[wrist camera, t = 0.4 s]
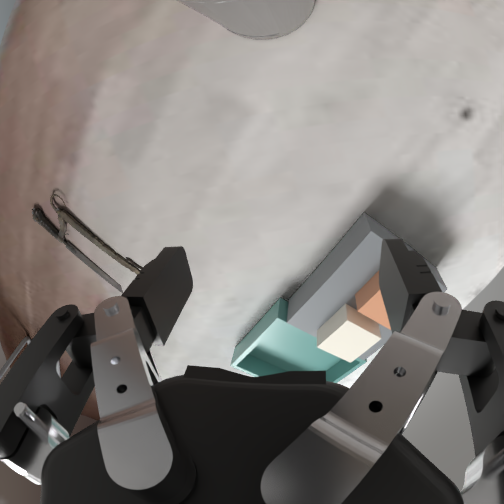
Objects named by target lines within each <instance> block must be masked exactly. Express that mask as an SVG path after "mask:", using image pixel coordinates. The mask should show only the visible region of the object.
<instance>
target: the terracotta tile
mask: <svg viewBox="0 0 504 504" xmlns="http://www.w3.org/2000/svg"><path fill="white" fill-rule="evenodd" d="M355 298H356V305H357V311H358V312H360V313H362V314H363V315H365V316H367V317H369V318H370V319H372V320H374V321H376V322H377V323H379V324H381V325H383V326H384V327H386V328H388V329H390V330H391V327H390V323H389V320H388V316H387V312H386V309H385V305H384V302H383V298H382V295H381V291H380V287H379V271H378V272H377V273H376V274H375V275H374V276H373V277H372V278H371V279H370V280H369V281H368V282H367V283H366V284H365V285H364V286H363V287H362V288H361V289H360V290H359V291H358V292H357V293H356V294H355Z"/></svg>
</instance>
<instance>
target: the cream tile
mask: <svg viewBox="0 0 504 504" xmlns="http://www.w3.org/2000/svg"><path fill="white" fill-rule="evenodd" d="M380 339H381V333H380V328H379V323H377V322H376V321H374V320H372V319H370V318H369V317H367V316H365V315H363V314H362V313H360V312H358V311H357V310H356V309H354V308H352V307H351V306H349V305H347V304H345V305H344V306H343V307H342V308H340V309H339V310H338V311H337V312H336V313H335V314H334V315H333V316H332V317H331V318H330V319H329V320H328V321H327V322H326V323H325V324H323V325H322V326H321V327H320V328H319V329H318V330H317V347H318V348H320V349H322V350H324V351H326V352H328V353H330V354H333V355H335V356H337V357H339V358H341V359H343V360H346V361H348V362H350V363H351V362H352V361H354V360H355V359H356V358H358V357H359V356H360V355H362V354H363V353H364V352H365V351H367V350H368V349H369V348H371V347H372V346H373V345H374V344H376V343H377V342H378V341H379V340H380Z"/></svg>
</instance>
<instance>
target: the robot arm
mask: <svg viewBox="0 0 504 504" xmlns="http://www.w3.org/2000/svg"><path fill="white" fill-rule="evenodd" d="M177 1H179V2H181V3H183V4H184V5H186V6H188V7H190V8H192V9H194V10H196V11H197V12H199V13H201V14H203V15H205V16H206V17H208V18H210V19H211V20H213V21H215V22H217V23H218V24H220V25H222V26H223V27H225V28H227V30H229V31H231V32H233V33H235V34H237V35H240V36H243V37H246V38H251V39H273V38H278V37H281V36H284V35H287V34H289V33H291V32H293V31H294V30H296V29H298V28H299V27H300V26H301V25H302V24H304V23H305V21H306V20H307V19H308V17H309V16H310V14H311V12H312V10H313V7H314V2H315V0H177ZM379 287H380V291H381V295H382V298H383V302H384V305H385V309H386V312H387V316H388V320H389V323H390V327H391V331H392V335H391V336H390V338H389V339H388V340H387V342H386V343H385V344H384V346H383V347H382V349H381V350H380V351H379V353H378V354H377V355H376V356H375V358H374V359H373V360H372V362H371V363H370V364H369V365H368V367H367V368H366V369H365V371H364V372H363V373H362V374H361V375H360V377H359V378H358V379H357V380H356V382H355V383H354V384H353V385H352V386H351V388H350V389H349V388H347V387H345V386H343V385H340V384H337V383H334V382H329V381H326V371H287V372H282V373H276V374H271V375H265V376H259V377H249V376H245V375H241V374H238V373H234V372H231V371H227V370H224V369H221V368H212V367H200V366H189V365H188V366H187V369H186V371H185V374H184V375H181V376H176V377H172V378H168V379H165V380H163V381H162V379H161V376H160V374H159V371H158V368H157V366H156V363H155V360H154V357H153V355H152V352H151V350H150V348H151V346H152V345H158V346H164V345H165V343H166V341H167V339H168V337H169V335H170V333H171V331H172V329H173V327H174V325H175V323H176V321H177V319H178V317H179V315H180V313H181V311H182V309H183V307H184V305H185V304H186V302H187V300H188V298H189V296H190V294H191V292H192V288H193V280H192V275H191V272H190V268H189V264H188V260H187V257H186V253H185V250H184V248H183V247H181V246H180V247H165V248H164V249H163V250H162V251H161V252H160V254H159V255H158V256H157V257H156V259H154V260H152V261H151V262H149V263H148V264H146V265H145V266H144V268H143V269H142V270H141V271H140V274H138V275H137V276H136V278H135V280H133V281H132V283H131V284H130V285H129V286H128V288H127V289H126V290H125V292H124V293H123V294H122V295H121V296H115V297H111V298H108V299H106V300H104V301H103V302H101V303H100V304H99V305H98V306H97V307H96V309H95V312H94V313H91V314H85V315H81V313H80V311H79V309H78V307H77V306H75V305H65V306H63V307H61V308H59V309H57V310H56V311H55V312H54V313H53V314H52V315H51V316H50V317H49V319H48V320H47V321H46V322H45V324H44V325H43V326H42V327H41V329H40V330H39V331H38V333H37V334H36V335H35V337H34V338H33V339H32V340H31V342H30V343H29V344H28V346H27V347H26V349H25V350H24V351H23V353H22V354H21V355H20V357H19V358H18V360H17V361H16V362H15V364H14V365H13V367H12V368H11V370H10V371H9V372H8V374H7V375H6V377H5V379H4V380H3V381H2V383H1V384H0V460H1V461H2V462H4V463H5V464H7V465H8V466H9V467H10V468H12V469H13V470H14V471H16V472H17V473H19V474H21V475H23V476H24V477H26V478H28V479H29V480H30V481H32V482H33V483H35V484H41V501H40V504H504V302H502V301H491V302H489V303H487V304H486V305H485V307H484V310H483V313H479V312H472V311H466V310H462V308H461V305H460V303H459V301H458V300H457V299H456V298H455V297H453V296H452V295H450V294H447V293H444V292H442V290H441V288H440V286H439V284H438V283H437V281H436V279H435V277H434V275H433V274H432V273H431V270H430V268H429V266H428V265H427V263H426V261H425V260H424V258H423V257H422V256H421V255H420V254H418V253H417V252H416V251H414V250H411V251H408V249H407V247H406V245H405V243H404V242H403V240H402V239H401V238H397V239H383V241H382V246H381V258H380V268H379ZM65 350H66V351H67V353H68V354H69V356H70V357H71V359H72V362H71V363H70V365H69V367H68V368H67V370H66V372H65V373H64V375H63V377H62V378H60V376H59V375H58V373H57V369H56V367H57V362H58V361H59V359H60V358H61V356H62V354H63V353H64V351H65ZM437 372H445V373H452V374H459V378H460V381H461V385H462V389H463V393H464V397H465V402H466V406H467V411H468V415H469V420H470V425H471V431H472V436H473V442H474V448H475V455H476V457H475V458H474V459H473V460H472V461H471V462H470V464H469V465H468V467H467V470H466V473H465V483H464V487H463V490H462V491H461V493H460V491H459V489H458V488H457V486H456V485H455V484H454V483H453V482H452V481H451V480H450V479H449V478H448V477H447V476H446V475H445V474H443V473H442V472H441V471H440V470H439V469H438V468H437V467H436V466H435V465H434V464H433V463H432V462H430V461H429V460H428V459H427V458H426V457H425V456H424V455H423V454H422V453H421V452H420V451H419V450H418V449H416V448H415V447H414V446H413V445H412V444H411V443H410V442H409V441H408V440H407V439H406V438H405V437H404V436H403V435H402V434H403V432H404V431H405V429H406V428H407V426H408V424H409V423H410V421H411V419H412V418H413V416H414V414H415V412H416V410H417V409H418V407H419V405H420V404H421V402H422V400H423V398H424V397H425V395H426V393H427V391H428V389H429V387H430V386H431V383H432V382H433V380H434V378H435V376H436V374H437ZM94 386H95V390H96V396H97V403H98V409H99V414H100V420H98V421H96V422H95V423H93V424H92V425H90V426H88V427H87V428H85V429H83V430H82V431H80V432H78V433H77V434H75V435H73V436H72V437H70V435H71V433H72V431H73V429H74V426H75V424H76V422H77V420H78V418H79V416H80V414H81V412H82V410H83V408H84V406H85V404H86V402H87V400H88V398H89V396H90V394H91V392H92V390H93V388H94ZM69 437H70V438H69Z"/></svg>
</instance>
